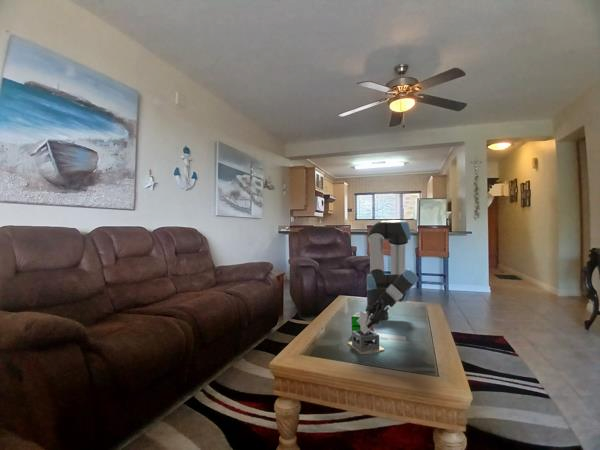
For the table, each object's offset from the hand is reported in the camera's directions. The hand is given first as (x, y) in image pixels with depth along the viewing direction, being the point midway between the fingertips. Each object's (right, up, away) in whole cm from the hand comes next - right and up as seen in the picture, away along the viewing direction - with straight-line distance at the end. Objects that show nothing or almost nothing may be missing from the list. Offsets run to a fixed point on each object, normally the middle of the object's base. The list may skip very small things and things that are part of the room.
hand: (360, 327), depth 145 cm
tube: (+2, -9, 0) cm, 9 cm away
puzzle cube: (+6, -10, +20) cm, 23 cm away
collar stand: (+2, -9, 0) cm, 10 cm away
